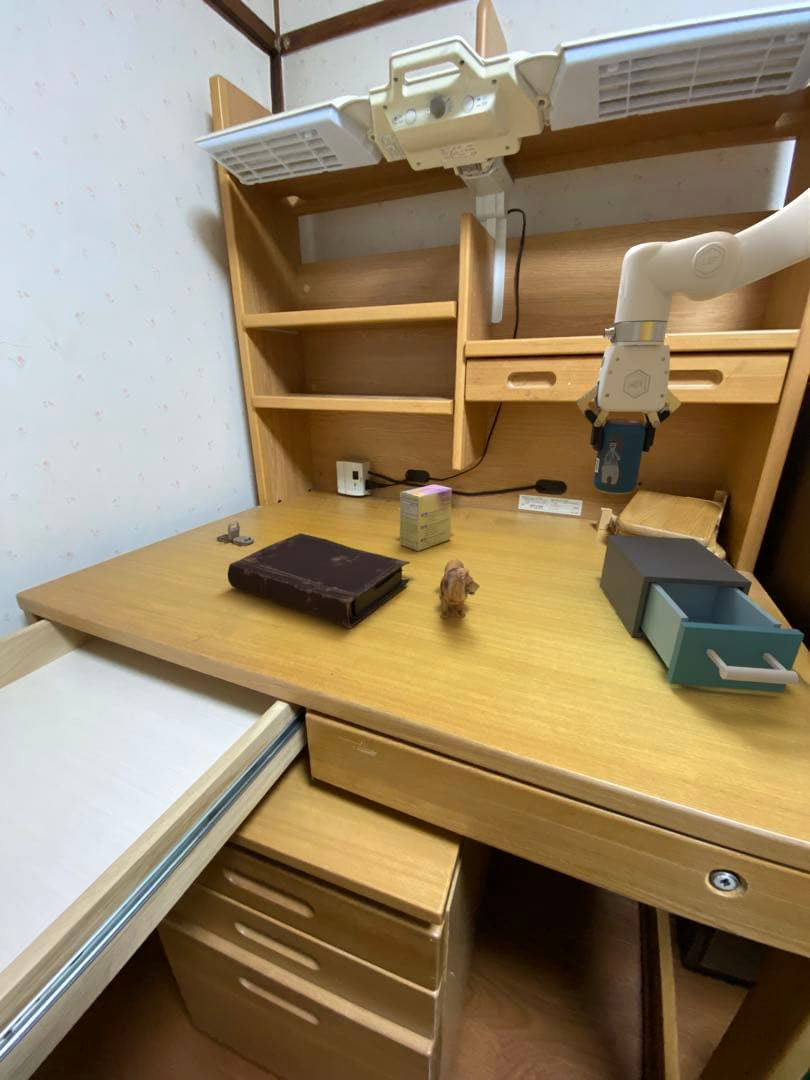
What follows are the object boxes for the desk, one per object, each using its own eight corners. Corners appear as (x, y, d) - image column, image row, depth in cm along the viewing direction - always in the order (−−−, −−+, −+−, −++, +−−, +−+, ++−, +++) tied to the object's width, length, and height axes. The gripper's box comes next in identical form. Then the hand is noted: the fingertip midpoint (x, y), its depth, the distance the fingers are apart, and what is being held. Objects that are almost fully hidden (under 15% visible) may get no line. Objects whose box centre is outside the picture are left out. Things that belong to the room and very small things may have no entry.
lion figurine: (478, 630, 67) (482, 574, 64) (442, 630, 67) (444, 574, 64) (461, 585, 81) (464, 537, 78) (431, 585, 81) (433, 537, 77)
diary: (347, 632, 66) (345, 601, 64) (229, 590, 78) (225, 563, 76) (411, 583, 81) (412, 557, 79) (304, 554, 93) (302, 531, 91)
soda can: (628, 486, 83) (640, 418, 79) (640, 496, 77) (653, 423, 73) (588, 485, 85) (598, 417, 80) (596, 494, 78) (607, 422, 74)
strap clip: (255, 542, 99) (253, 523, 98) (245, 546, 97) (243, 527, 95) (226, 536, 103) (223, 517, 101) (215, 540, 100) (212, 521, 99)
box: (431, 533, 105) (433, 483, 101) (450, 540, 102) (453, 488, 97) (398, 545, 99) (399, 491, 94) (418, 552, 95) (419, 496, 91)
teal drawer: (811, 721, 49) (836, 660, 46) (688, 711, 50) (705, 650, 48) (715, 623, 68) (729, 575, 65) (627, 617, 69) (637, 570, 66)
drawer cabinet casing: (733, 644, 64) (752, 582, 61) (631, 637, 66) (644, 576, 62) (681, 590, 80) (693, 538, 76) (599, 585, 81) (608, 534, 78)
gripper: (586, 335, 70) (571, 453, 76) (709, 334, 68) (683, 455, 74) (575, 338, 77) (562, 445, 83) (686, 337, 75) (664, 447, 81)
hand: (619, 449), depth 78 cm, fingers closed on soda can, 7 cm apart
